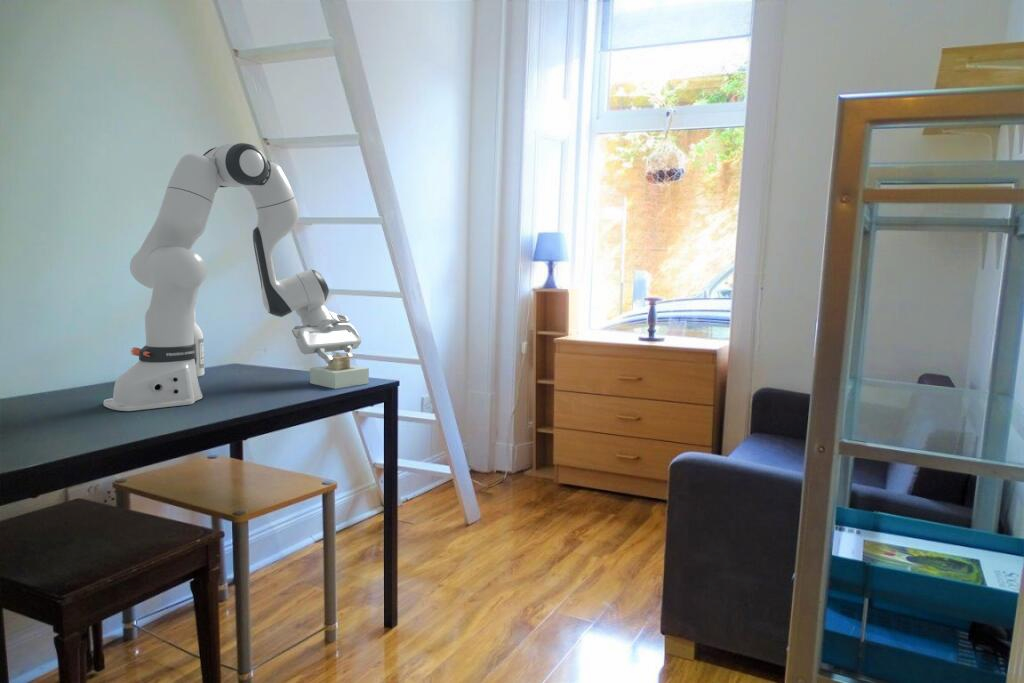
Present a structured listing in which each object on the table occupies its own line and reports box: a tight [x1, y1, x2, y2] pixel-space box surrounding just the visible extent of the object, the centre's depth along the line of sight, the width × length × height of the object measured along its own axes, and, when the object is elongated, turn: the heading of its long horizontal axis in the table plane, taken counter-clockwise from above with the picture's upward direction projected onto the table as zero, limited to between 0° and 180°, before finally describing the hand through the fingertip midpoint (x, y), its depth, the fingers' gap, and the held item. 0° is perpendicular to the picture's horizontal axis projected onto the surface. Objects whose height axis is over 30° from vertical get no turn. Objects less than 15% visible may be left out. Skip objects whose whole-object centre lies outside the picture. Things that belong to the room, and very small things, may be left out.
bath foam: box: [193, 309, 205, 378], centre depth 215 cm, size 7×7×20 cm
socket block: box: [309, 364, 370, 390], centre depth 208 cm, size 12×12×4 cm
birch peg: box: [327, 354, 351, 371], centre depth 208 cm, size 4×4×8 cm
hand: (340, 360), depth 207 cm, fingers open, 6 cm apart
